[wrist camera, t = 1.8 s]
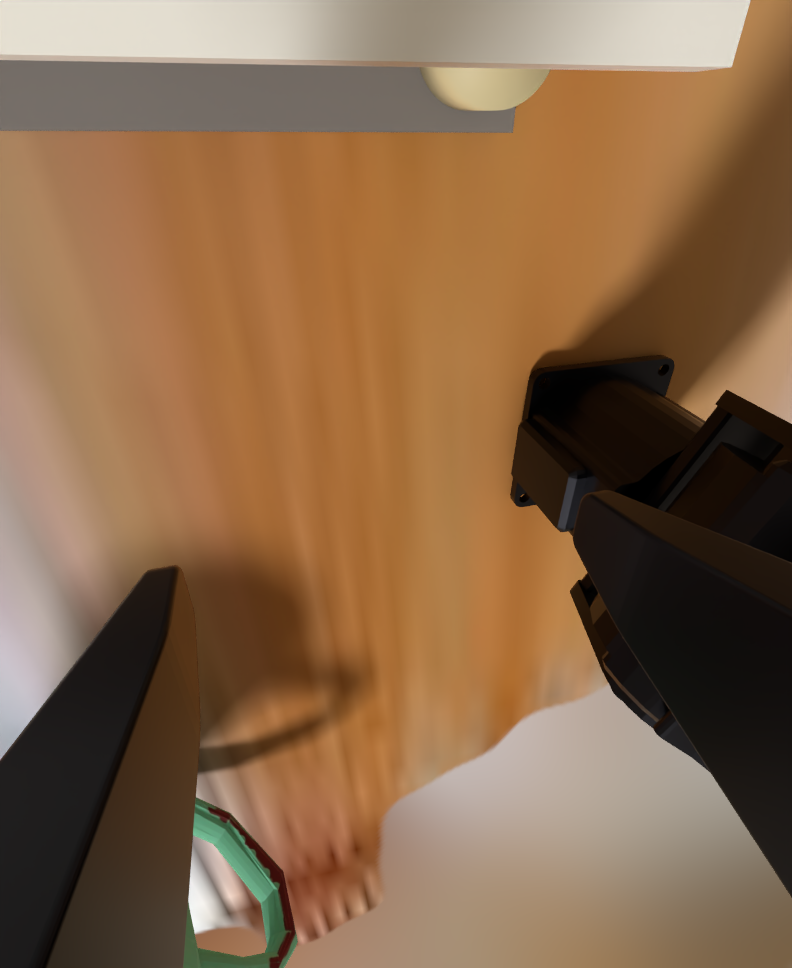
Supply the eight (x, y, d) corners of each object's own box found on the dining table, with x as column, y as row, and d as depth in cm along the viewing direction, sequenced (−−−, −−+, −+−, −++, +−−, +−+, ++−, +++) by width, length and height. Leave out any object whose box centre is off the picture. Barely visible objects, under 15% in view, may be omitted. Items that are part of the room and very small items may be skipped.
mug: (-36, 829, 27) (-137, 1127, 19) (16, 705, 24) (-82, 1006, 16) (243, 828, 34) (254, 1044, 26) (315, 733, 31) (352, 949, 23)
